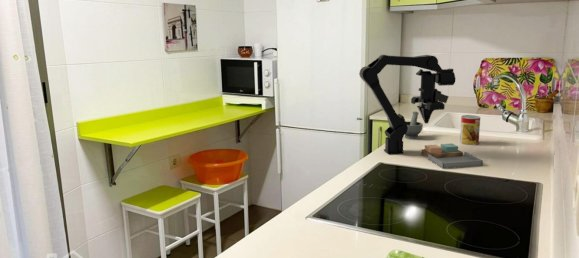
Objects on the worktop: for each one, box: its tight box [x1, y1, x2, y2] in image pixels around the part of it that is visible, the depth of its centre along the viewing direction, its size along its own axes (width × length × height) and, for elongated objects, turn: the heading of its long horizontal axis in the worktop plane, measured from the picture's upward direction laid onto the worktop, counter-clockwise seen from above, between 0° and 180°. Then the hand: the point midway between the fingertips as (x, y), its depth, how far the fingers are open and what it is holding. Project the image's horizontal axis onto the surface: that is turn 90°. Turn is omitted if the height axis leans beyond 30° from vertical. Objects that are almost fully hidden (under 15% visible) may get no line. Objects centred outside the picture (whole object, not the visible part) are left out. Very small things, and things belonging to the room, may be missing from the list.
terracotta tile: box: [424, 144, 442, 153], centre depth 183 cm, size 5×5×2 cm
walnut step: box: [420, 148, 464, 159], centre depth 183 cm, size 14×8×2 cm, turn 99°
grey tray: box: [427, 151, 483, 169], centre depth 173 cm, size 16×12×2 cm
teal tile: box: [440, 143, 459, 152], centre depth 184 cm, size 5×5×2 cm
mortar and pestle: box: [404, 110, 423, 140], centre depth 212 cm, size 11×9×12 cm
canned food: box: [459, 114, 481, 146], centre depth 200 cm, size 8×8×12 cm
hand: (426, 123), depth 188 cm, fingers closed
